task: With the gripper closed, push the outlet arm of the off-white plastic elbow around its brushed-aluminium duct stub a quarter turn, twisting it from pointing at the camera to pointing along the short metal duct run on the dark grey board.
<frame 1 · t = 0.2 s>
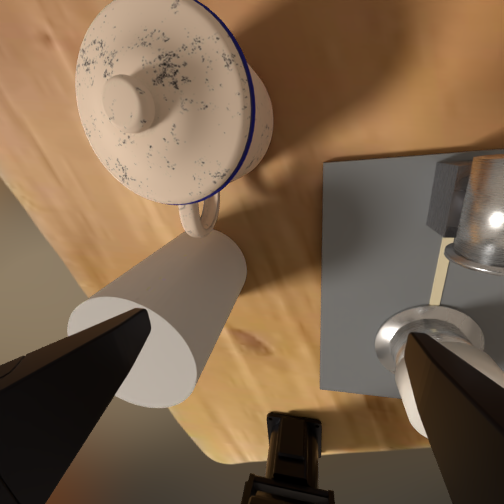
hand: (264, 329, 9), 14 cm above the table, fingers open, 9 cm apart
duct stub: (422, 338, 24), resting on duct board
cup: (207, 265, 26), on the table
teacup with lid: (221, 144, 21), on the table
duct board: (443, 296, 22), on the table
duct run: (451, 191, 19), resting on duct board
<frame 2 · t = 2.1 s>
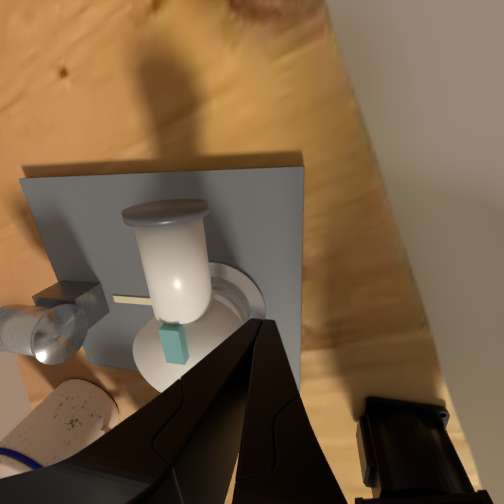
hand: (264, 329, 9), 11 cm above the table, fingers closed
duct stub: (220, 301, 22), resting on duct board
teacup with lid: (101, 403, 33), on the table
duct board: (171, 288, 23), on the table
duct run: (92, 291, 25), resting on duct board
elbow: (185, 309, 16), point 6 cm above the table, hinge at 0.0°
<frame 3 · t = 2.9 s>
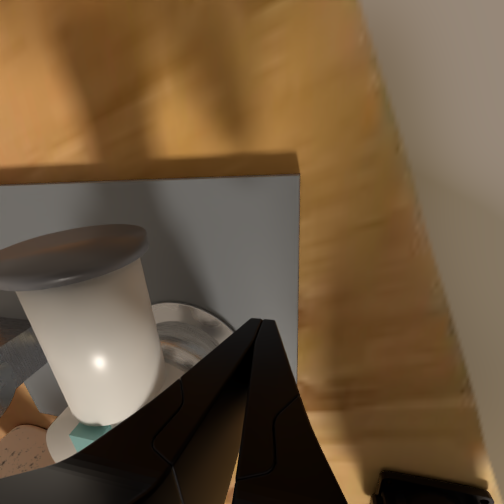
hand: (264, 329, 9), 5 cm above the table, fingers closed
duct stub: (191, 347, 17), resting on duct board
teacup with lid: (61, 451, 28), on the table
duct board: (129, 329, 18), on the table
duct run: (34, 329, 20), resting on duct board
elbow: (123, 387, 11), point 6 cm above the table, hinge at 0.0°
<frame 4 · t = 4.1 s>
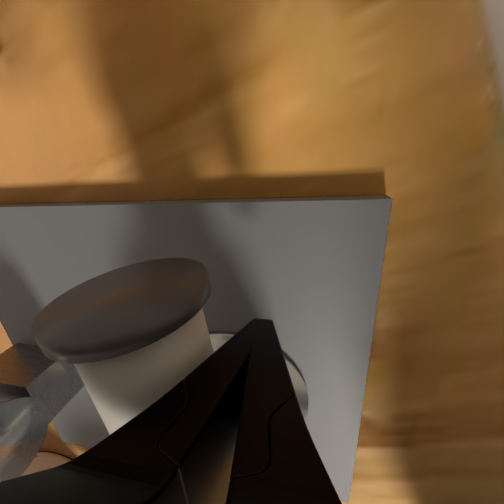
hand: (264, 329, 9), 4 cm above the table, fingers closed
duct stub: (238, 378, 16), resting on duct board
teacup with lid: (81, 478, 26), on the table
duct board: (169, 358, 16), on the table
duct run: (61, 355, 19), resting on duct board
elbow: (185, 444, 9), point 6 cm above the table, hinge at 5.4°, touching gripper
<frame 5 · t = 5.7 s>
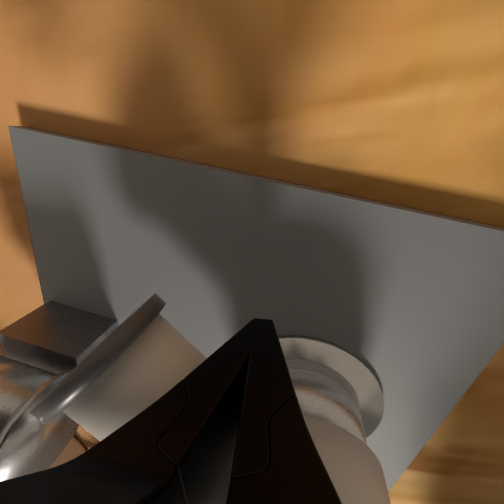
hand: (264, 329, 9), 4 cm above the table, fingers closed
duct stub: (300, 384, 15), resting on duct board
teacup with lid: (67, 448, 24), on the table
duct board: (229, 349, 15), on the table
duct run: (95, 322, 16), resting on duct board
elbow: (240, 464, 9), point 6 cm above the table, hinge at 53.4°, touching gripper
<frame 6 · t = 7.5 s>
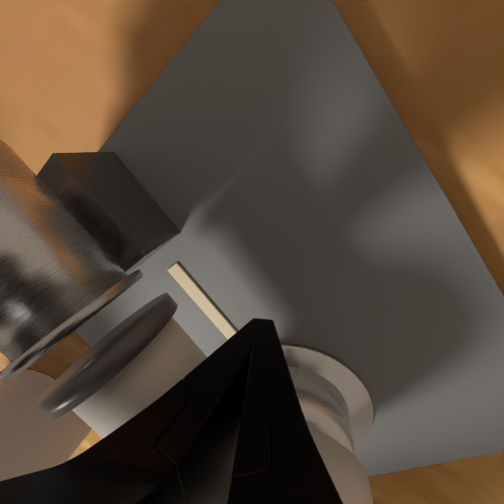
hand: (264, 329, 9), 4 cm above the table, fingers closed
duct stub: (292, 390, 15), resting on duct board
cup: (50, 404, 22), on the table
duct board: (259, 329, 14), on the table
duct run: (138, 210, 13), resting on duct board
elbow: (234, 469, 9), point 6 cm above the table, hinge at 88.6°, touching gripper
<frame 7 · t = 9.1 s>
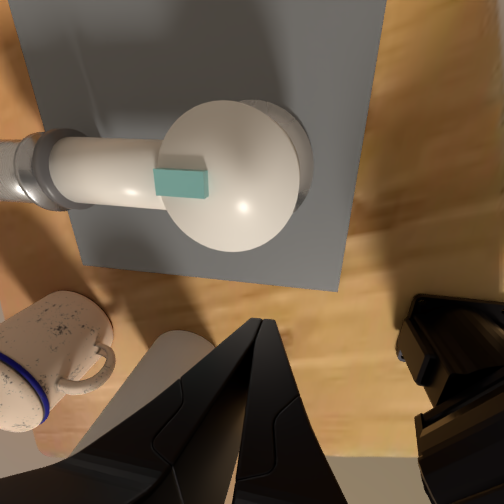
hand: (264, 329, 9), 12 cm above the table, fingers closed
duct stub: (253, 168, 18), resting on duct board
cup: (188, 359, 28), on the table
teacup with lid: (93, 323, 28), on the table
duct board: (193, 152, 19), on the table
duct run: (91, 164, 21), resting on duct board
elbow: (176, 176, 14), point 6 cm above the table, hinge at 88.8°
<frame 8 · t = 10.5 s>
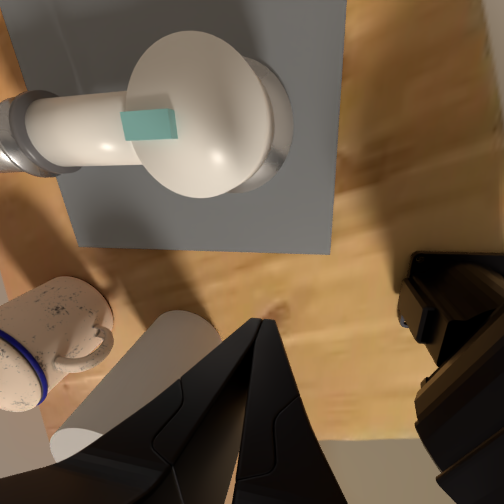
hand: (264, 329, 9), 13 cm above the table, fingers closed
duct stub: (235, 131, 18), resting on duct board
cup: (187, 341, 28), on the table
teacup with lid: (93, 309, 29), on the table
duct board: (175, 120, 19), on the table
duct run: (80, 142, 21), resting on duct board
elbow: (149, 129, 14), point 6 cm above the table, hinge at 88.8°
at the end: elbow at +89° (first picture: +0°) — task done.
